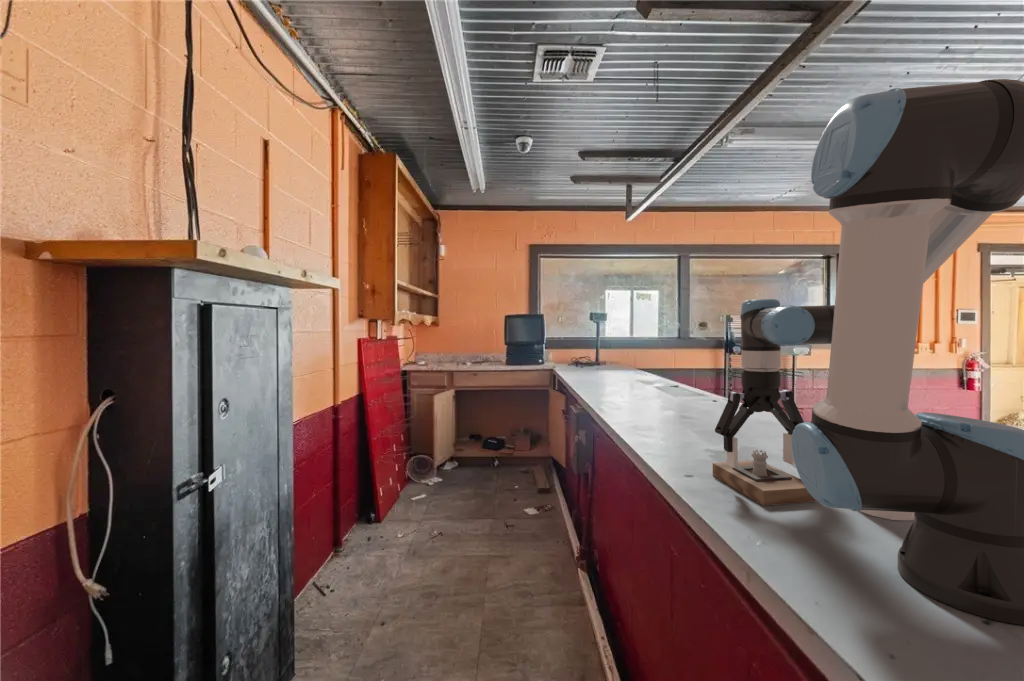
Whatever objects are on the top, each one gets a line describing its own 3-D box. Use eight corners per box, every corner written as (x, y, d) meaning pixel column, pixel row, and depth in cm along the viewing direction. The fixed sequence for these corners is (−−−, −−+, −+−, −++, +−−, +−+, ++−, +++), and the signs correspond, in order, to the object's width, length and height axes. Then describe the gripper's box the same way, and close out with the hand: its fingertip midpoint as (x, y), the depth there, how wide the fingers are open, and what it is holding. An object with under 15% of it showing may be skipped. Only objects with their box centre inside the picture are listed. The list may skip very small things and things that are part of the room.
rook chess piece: (774, 491, 94) (774, 454, 93) (752, 490, 94) (752, 454, 94) (766, 483, 98) (766, 449, 98) (745, 482, 99) (745, 448, 98)
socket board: (818, 501, 88) (818, 484, 87) (763, 505, 86) (763, 488, 86) (758, 472, 105) (758, 458, 105) (712, 475, 104) (712, 460, 104)
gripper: (799, 366, 100) (799, 456, 101) (698, 369, 97) (698, 462, 98) (826, 369, 93) (826, 466, 93) (717, 373, 90) (717, 473, 91)
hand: (760, 464), depth 96 cm, fingers open, 13 cm apart
